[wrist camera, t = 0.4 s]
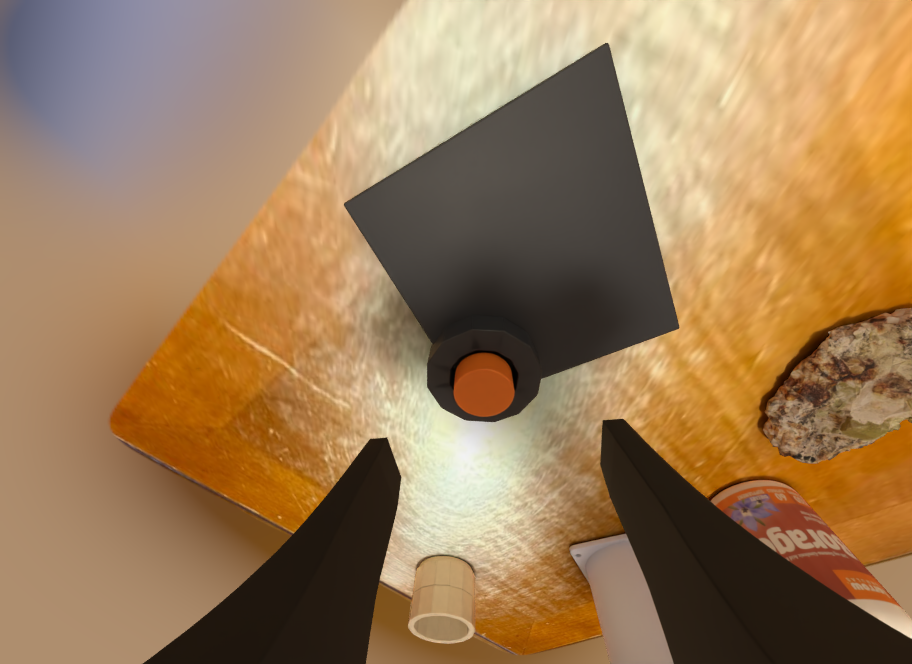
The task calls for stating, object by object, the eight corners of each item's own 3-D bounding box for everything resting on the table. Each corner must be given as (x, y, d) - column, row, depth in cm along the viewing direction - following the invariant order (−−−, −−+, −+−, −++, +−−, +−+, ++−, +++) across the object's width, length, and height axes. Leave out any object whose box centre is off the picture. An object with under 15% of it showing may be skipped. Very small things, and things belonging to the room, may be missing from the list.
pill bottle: (803, 471, 24) (1031, 698, 14) (785, 524, 26) (964, 743, 17) (706, 481, 25) (855, 699, 15) (698, 531, 27) (819, 741, 18)
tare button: (520, 386, 18) (524, 405, 17) (470, 404, 19) (470, 424, 18) (497, 343, 17) (499, 360, 16) (445, 364, 18) (442, 382, 16)
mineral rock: (948, 282, 15) (1117, 390, 14) (870, 263, 18) (1002, 348, 18) (730, 431, 20) (850, 513, 19) (704, 391, 23) (804, 460, 23)
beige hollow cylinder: (485, 579, 33) (486, 638, 29) (434, 589, 34) (428, 647, 30) (458, 548, 31) (455, 608, 27) (405, 561, 32) (395, 619, 28)
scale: (668, 323, 19) (700, 352, 16) (461, 400, 22) (459, 434, 20) (596, 50, 13) (626, 27, 11) (337, 209, 17) (310, 221, 14)
